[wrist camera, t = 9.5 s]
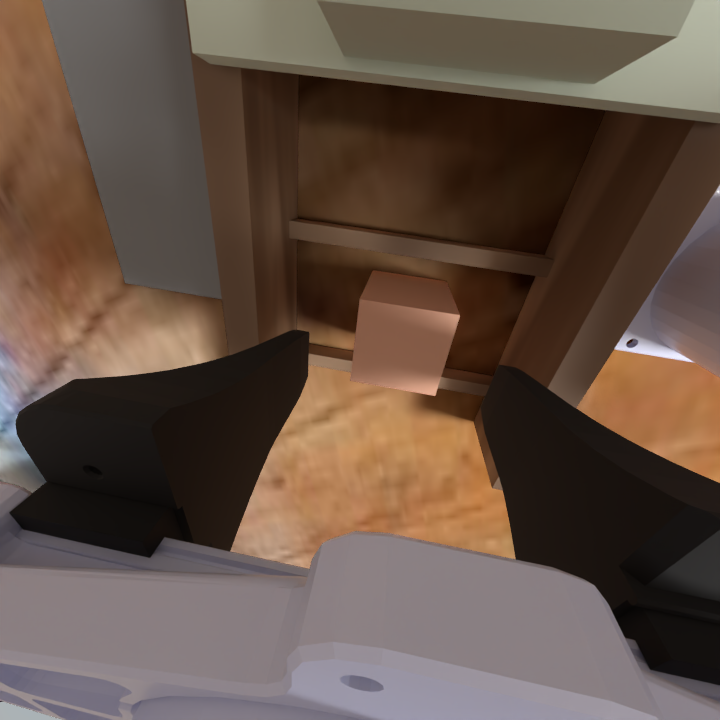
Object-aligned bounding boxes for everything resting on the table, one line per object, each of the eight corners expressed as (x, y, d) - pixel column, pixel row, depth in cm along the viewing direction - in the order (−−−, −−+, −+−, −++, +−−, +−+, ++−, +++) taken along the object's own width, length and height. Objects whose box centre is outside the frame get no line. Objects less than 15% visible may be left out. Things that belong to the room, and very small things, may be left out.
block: (446, 281, 16) (459, 315, 12) (429, 346, 18) (435, 396, 14) (373, 270, 16) (359, 299, 12) (364, 335, 18) (350, 380, 14)
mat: (253, -60, 11) (248, -68, 10) (268, 304, 18) (265, 307, 18) (27, -79, 11) (16, -88, 11) (130, 281, 18) (125, 283, 18)
